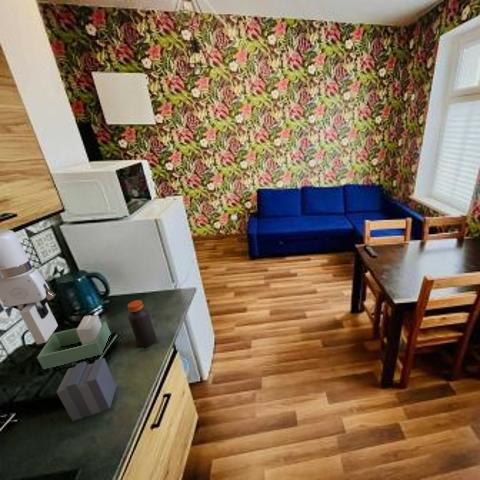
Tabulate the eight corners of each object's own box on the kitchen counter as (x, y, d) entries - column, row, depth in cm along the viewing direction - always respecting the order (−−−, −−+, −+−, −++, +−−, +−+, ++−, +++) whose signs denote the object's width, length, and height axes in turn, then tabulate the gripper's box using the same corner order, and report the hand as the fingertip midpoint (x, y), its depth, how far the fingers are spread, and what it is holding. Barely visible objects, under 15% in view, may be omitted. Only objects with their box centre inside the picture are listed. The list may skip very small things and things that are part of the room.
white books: (87, 356, 105) (75, 330, 100) (94, 341, 113) (83, 316, 108) (101, 352, 107) (90, 327, 102) (107, 338, 114) (97, 313, 109)
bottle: (143, 337, 115) (130, 299, 108) (159, 336, 116) (148, 298, 108) (134, 349, 109) (120, 309, 101) (152, 348, 110) (139, 308, 102)
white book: (36, 344, 88) (19, 312, 83) (49, 327, 96) (34, 297, 91) (46, 342, 89) (29, 310, 84) (58, 325, 96) (43, 295, 91)
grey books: (72, 421, 82) (54, 389, 77) (82, 396, 90) (67, 366, 84) (109, 409, 86) (95, 377, 80) (116, 386, 93) (103, 356, 88)
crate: (45, 373, 99) (36, 357, 96) (60, 347, 110) (53, 333, 107) (102, 357, 105) (96, 342, 102) (111, 335, 117) (106, 321, 114)
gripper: (-31, 281, 76) (-1, 331, 83) (41, 269, 82) (64, 317, 89) (-14, 269, 82) (13, 316, 90) (52, 259, 88) (73, 305, 95)
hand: (38, 316), depth 89 cm, fingers closed on white book, 2 cm apart
